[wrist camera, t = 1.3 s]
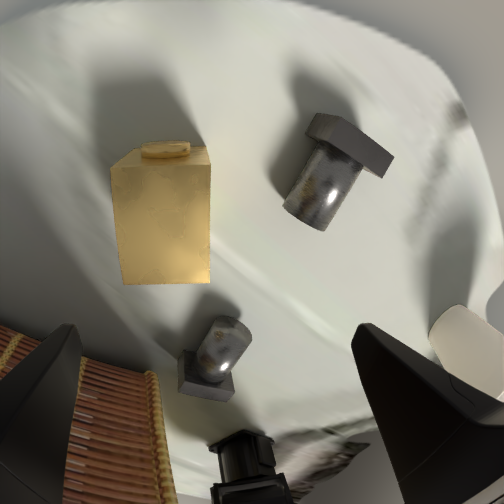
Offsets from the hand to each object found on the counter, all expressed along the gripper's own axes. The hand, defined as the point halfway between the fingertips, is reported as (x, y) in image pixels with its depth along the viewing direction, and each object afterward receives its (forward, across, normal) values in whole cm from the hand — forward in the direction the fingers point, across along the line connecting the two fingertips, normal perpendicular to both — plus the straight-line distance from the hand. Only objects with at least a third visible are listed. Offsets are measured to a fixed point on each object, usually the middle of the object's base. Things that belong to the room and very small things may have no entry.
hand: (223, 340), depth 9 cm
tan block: (+13, +2, 0) cm, 13 cm away
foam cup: (+12, -29, +13) cm, 34 cm away
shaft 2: (+13, -7, -3) cm, 15 cm away
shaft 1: (+12, -2, +12) cm, 18 cm away
